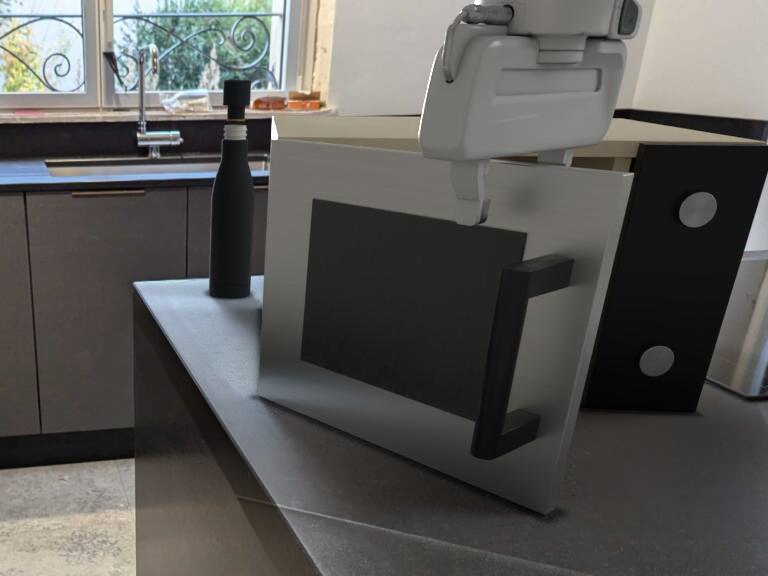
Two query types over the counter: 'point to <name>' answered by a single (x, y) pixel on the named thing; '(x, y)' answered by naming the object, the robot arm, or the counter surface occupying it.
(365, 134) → the microwave
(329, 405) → the microwave door
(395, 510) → the counter surface
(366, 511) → the counter surface
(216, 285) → the black screw-cap bottle
